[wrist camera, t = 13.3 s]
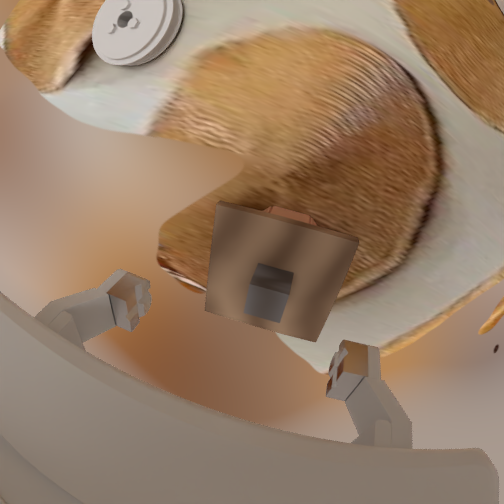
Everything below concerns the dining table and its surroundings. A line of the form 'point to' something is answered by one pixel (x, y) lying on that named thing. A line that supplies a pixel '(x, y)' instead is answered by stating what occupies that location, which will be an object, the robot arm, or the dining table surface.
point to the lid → (135, 29)
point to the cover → (275, 270)
